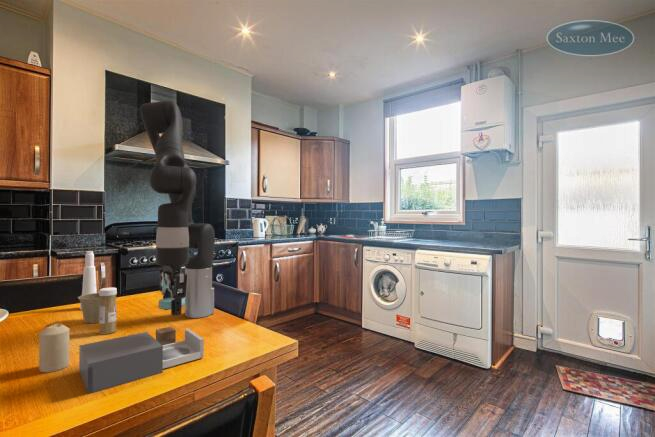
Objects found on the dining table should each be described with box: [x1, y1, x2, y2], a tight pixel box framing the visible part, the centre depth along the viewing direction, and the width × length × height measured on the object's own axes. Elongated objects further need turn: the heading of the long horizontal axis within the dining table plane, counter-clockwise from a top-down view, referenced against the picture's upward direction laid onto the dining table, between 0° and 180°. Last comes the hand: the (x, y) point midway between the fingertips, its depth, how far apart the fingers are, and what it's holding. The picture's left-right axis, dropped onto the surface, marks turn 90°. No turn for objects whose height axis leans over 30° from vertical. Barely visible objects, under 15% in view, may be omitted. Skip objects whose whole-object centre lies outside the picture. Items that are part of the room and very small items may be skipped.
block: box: [155, 326, 177, 346], centre depth 94 cm, size 4×4×4 cm
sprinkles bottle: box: [98, 287, 118, 335], centre depth 103 cm, size 5×5×14 cm
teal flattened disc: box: [158, 298, 185, 310], centre depth 84 cm, size 6×6×2 cm
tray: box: [163, 328, 205, 370], centre depth 84 cm, size 13×11×5 cm
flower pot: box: [77, 292, 100, 324], centre depth 114 cm, size 9×9×9 cm
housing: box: [78, 331, 164, 394], centre depth 77 cm, size 14×13×6 cm
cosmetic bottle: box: [79, 250, 98, 311], centre depth 129 cm, size 6×6×22 cm
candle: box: [38, 322, 70, 374], centre depth 79 cm, size 6×6×10 cm
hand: (171, 311), depth 84 cm, fingers closed on teal flattened disc, 6 cm apart
